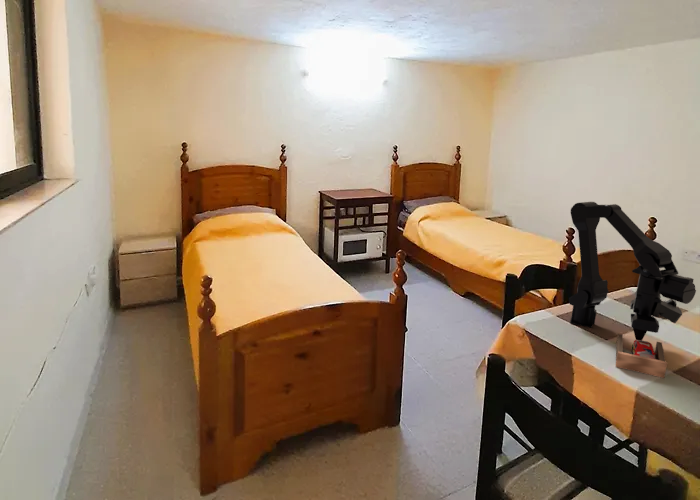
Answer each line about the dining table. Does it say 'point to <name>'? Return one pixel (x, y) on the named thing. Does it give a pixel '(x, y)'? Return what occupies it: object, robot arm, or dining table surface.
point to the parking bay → (641, 360)
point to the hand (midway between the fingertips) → (638, 341)
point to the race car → (643, 349)
